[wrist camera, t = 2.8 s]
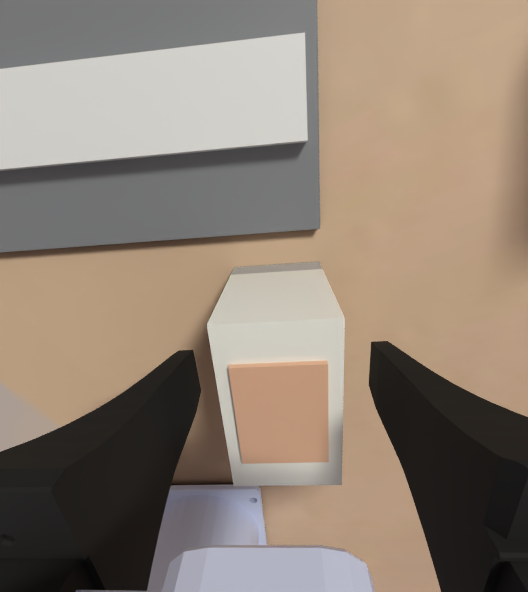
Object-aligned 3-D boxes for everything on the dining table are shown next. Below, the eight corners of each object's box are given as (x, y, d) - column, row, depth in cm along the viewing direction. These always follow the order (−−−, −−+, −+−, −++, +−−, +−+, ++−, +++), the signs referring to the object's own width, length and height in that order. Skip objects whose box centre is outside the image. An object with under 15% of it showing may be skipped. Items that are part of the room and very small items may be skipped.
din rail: (318, 227, 14) (322, 231, 12) (-53, 254, 15) (-81, 261, 14) (314, -83, 10) (318, -117, 9) (-179, -11, 11) (-231, -32, 10)
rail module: (320, 381, 17) (342, 489, 11) (248, 384, 17) (232, 491, 11) (319, 261, 14) (346, 321, 9) (234, 267, 15) (205, 328, 9)
